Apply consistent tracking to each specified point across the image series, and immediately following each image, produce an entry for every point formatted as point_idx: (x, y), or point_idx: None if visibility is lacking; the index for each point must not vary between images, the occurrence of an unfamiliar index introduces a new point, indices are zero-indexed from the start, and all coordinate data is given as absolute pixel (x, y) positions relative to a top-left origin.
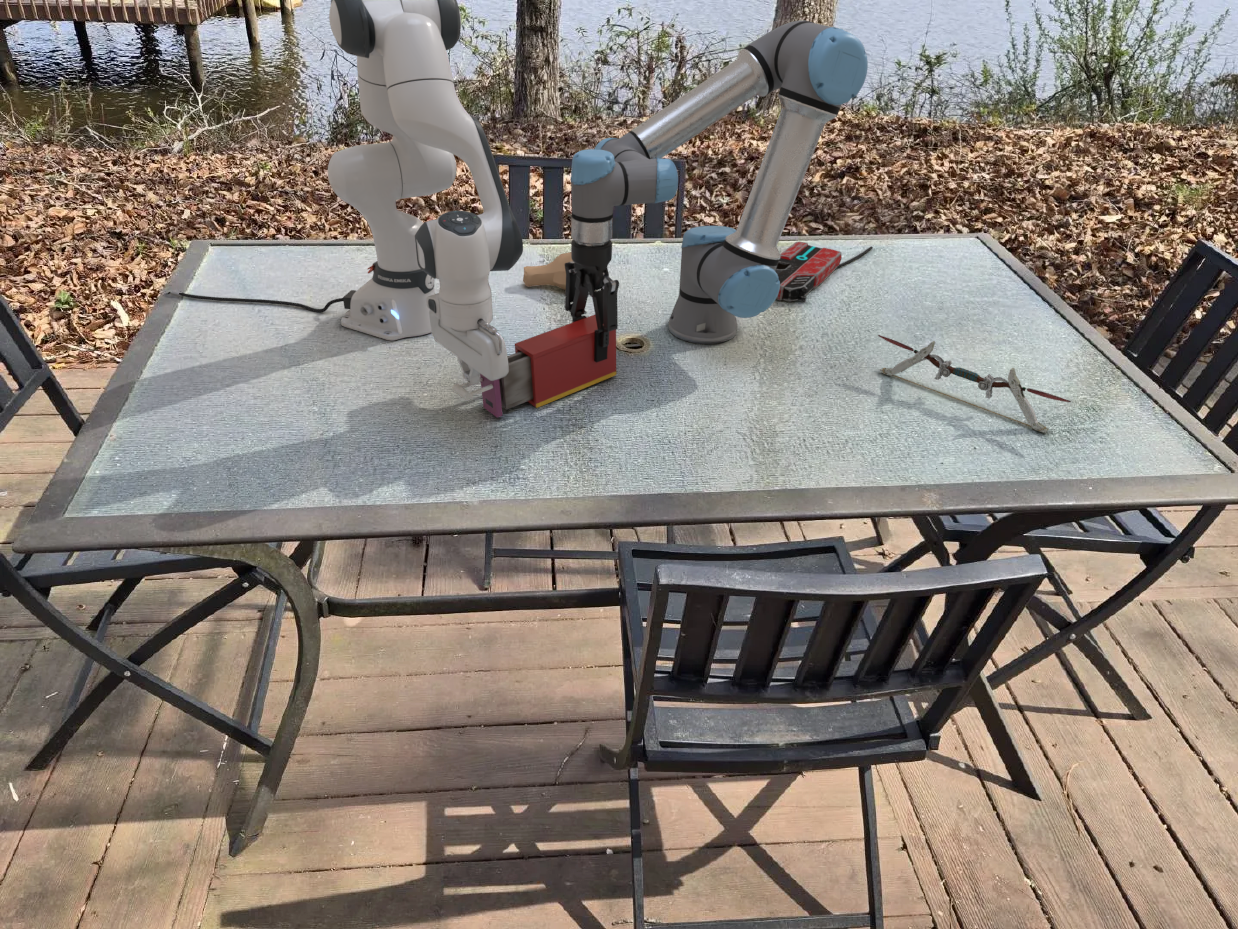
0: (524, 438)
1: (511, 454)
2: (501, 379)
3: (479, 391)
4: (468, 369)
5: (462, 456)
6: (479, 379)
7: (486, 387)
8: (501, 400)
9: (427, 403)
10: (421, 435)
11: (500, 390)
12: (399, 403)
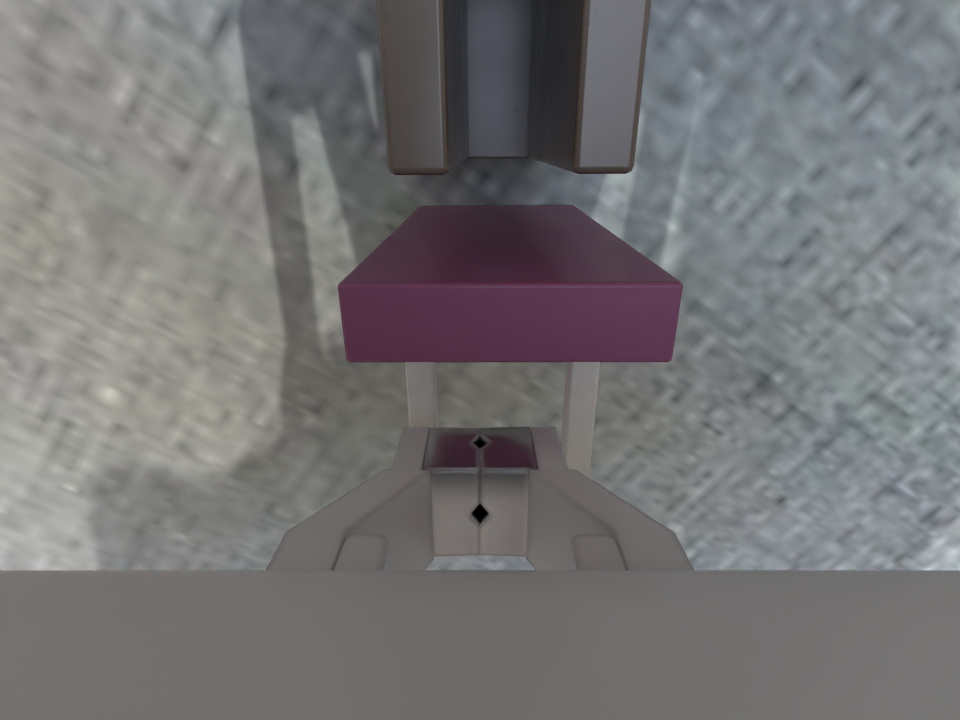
0: (821, 226)
1: (873, 365)
2: (460, 108)
3: (592, 431)
4: (427, 520)
5: (710, 526)
6: (558, 440)
7: (594, 369)
8: (474, 139)
9: (204, 429)
10: (456, 567)
11: (466, 135)
12: (146, 519)
